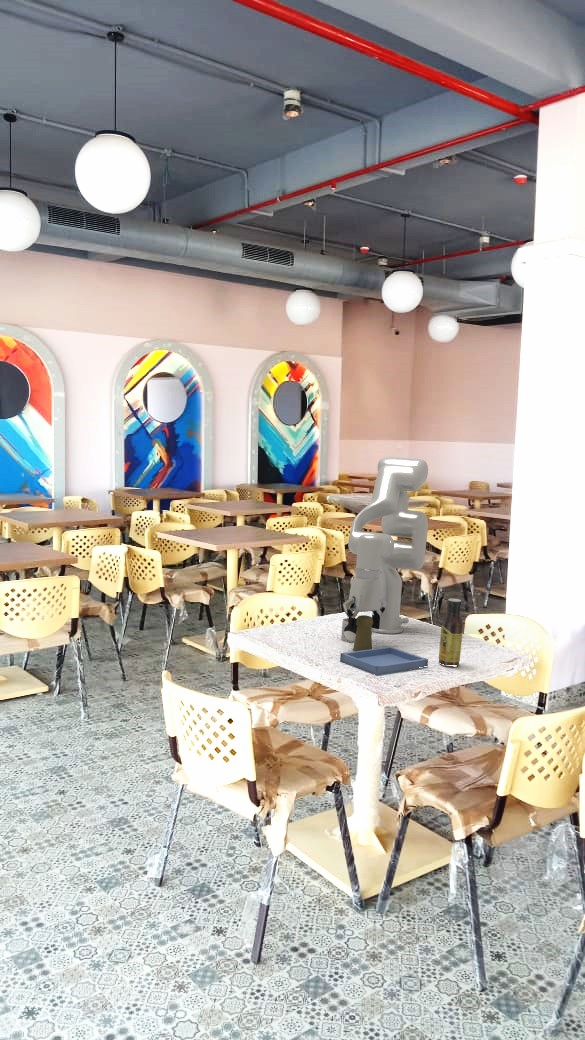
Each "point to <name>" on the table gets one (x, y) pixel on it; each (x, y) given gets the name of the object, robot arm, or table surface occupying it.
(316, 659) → the table surface
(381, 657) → the tray
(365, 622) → the cork
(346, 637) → the mug
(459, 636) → the sauce bottle
